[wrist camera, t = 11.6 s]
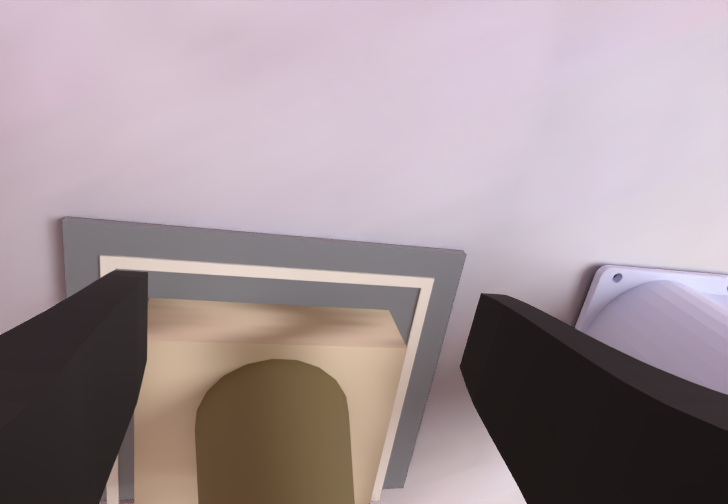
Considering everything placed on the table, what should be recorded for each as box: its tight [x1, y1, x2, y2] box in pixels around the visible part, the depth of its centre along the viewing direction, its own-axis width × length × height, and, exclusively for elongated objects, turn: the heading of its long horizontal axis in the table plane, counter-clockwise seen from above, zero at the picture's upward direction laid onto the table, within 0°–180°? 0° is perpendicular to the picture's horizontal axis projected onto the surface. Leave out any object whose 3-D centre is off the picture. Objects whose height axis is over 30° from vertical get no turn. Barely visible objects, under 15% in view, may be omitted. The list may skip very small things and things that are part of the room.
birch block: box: [134, 298, 407, 504], centre depth 22 cm, size 10×10×3 cm
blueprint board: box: [62, 217, 466, 504], centre depth 23 cm, size 16×15×1 cm
